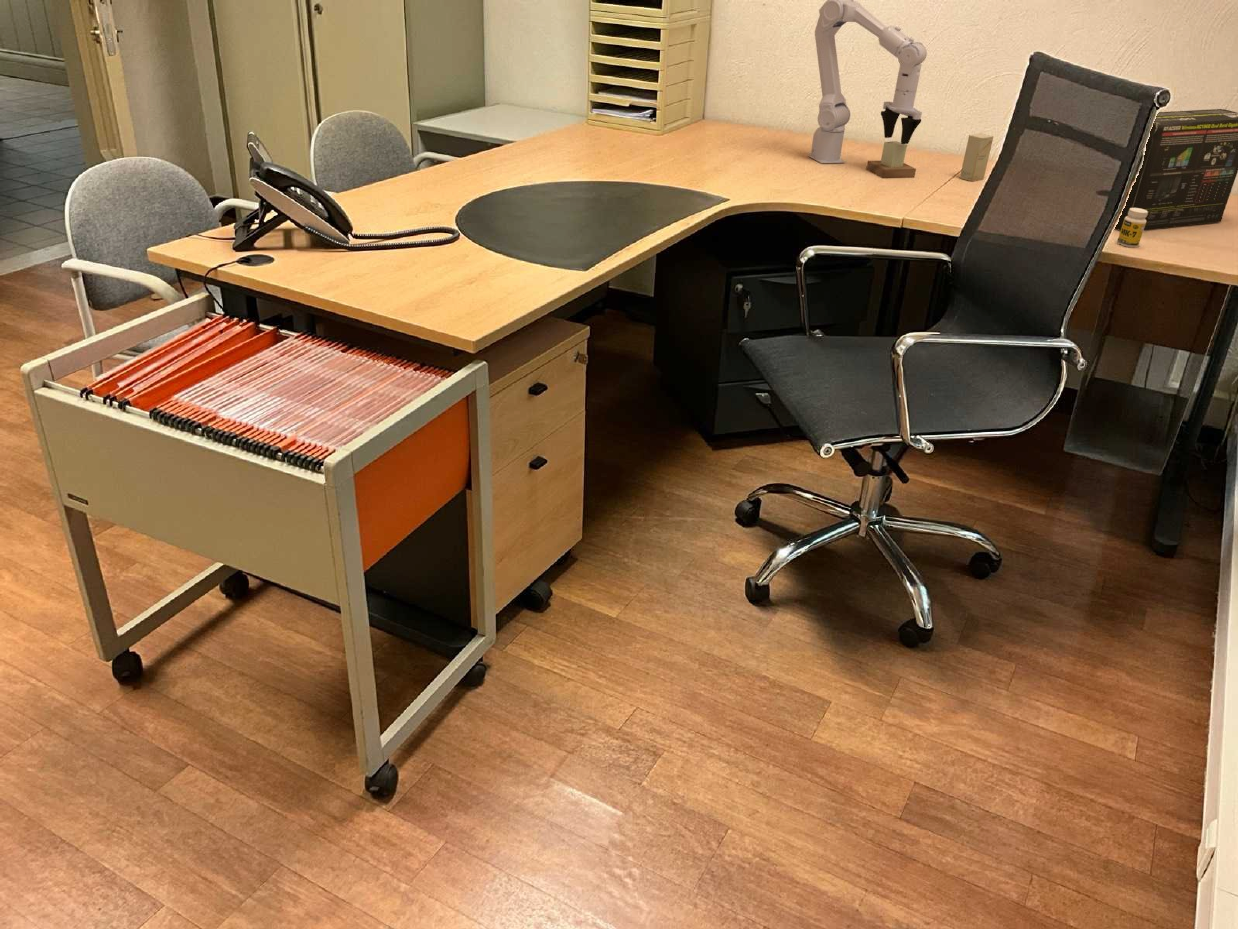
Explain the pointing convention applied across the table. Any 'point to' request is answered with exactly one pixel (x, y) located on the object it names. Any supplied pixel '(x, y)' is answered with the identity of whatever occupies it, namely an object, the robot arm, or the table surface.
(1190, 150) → the router box
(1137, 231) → the supplement bottle
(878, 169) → the walnut block
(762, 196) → the table surface
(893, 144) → the sage block
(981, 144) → the skincare box
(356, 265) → the table surface
